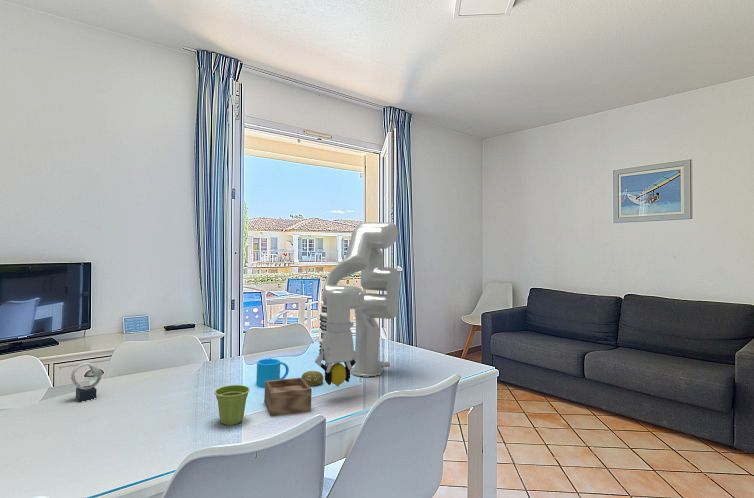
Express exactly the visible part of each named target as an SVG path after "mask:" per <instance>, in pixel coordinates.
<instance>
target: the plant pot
mask: <svg viewBox="0 0 754 498" xmlns="http://www.w3.org/2000/svg"><path fill="white" fill-rule="evenodd" d="M250 390H251V389H250V387H249V386H246V385H244V384H231V385H225V386H221V387H218V388H216V389H215V390H214V392H213V393H214V395H215V397H216V399H217V406H218V415H219V422H220V424H222V425H223V424H224V425H225V426H232V425H236V424H239V423H240V422H243V421H244V416H245V415H244V414H245V409H246V402H247V397H248V395H249V392H250Z"/></svg>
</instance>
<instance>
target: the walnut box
mask: <svg viewBox="0 0 754 498" xmlns="http://www.w3.org/2000/svg"><path fill="white" fill-rule="evenodd" d="M263 395H264V400H263V403H264V405H265V407H266V409H267V411H268V414H269V416H270V417H277V416H284V415H292V414H299V413H307V412H312V388H311V386H309V385H308V384H307V383H306V381H305V380H304V379H303V378H301V377H294V378H284V379H281V380H270V381H265V388H264V394H263Z"/></svg>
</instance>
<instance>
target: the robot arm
mask: <svg viewBox="0 0 754 498" xmlns="http://www.w3.org/2000/svg"><path fill="white" fill-rule="evenodd" d="M398 236H399V230H398V226H397V225H396V224H395V223H393V222H376V221H375V222H374V221H373V222H370V221H369V222H368V221H367V222H360V223H358V224H357V225H356V226H355V228H354V229H353V230H352V233H351V236H350V240H349V241H348V242H349V243H348V245H347V246H348V247H347V250H346V253H345V257H344V259H343V260H342V261H340V262H339V263H337V265H335V266H334V267H333V268H332V269H331V270H330V271H329V273H328V274H327V275H326V278H325V283H324V286H323V289H322V294H321V298H322V304H323V303H324V304H325V305H326V306H327V331H324V334H323V340H322V348H321V354H320V355H318V357H317V358H316V359H315V360H314V363H315V364H317V365H318V366H319V367H320V368H321V369H322V370H324V381H325V383H327V385H329V386H330V385H332V382H331V372H330V369H331V366H332V365H333V364H335V363H344V367H345V370H346V379H345V381H344V382H347V383H349V382H350V379H351V374H352V375H353V376H356V377H360V376H363V377H362V378H370V377H369V376H375V377H377V376H376V375H379V374H381V373H382V374H383V368H388V367H390V365H391V363H390V361H385V362H384V360H382V361H381V360H380V325H379V324H378V322H377V321H376V319H384V320H392V319H394V318H396V316H397V315H398V310H399V300H400V288H401V287H400V286H401V278H400V277H401V276H400V272H399V271H398V269H397V268H395V267H386V266H384V265H383V264H384V254H383V252H382V250H386V249H389V248H390V247H391V246H393V245H394V244H395V243H396V242H397V240H398ZM359 272H360V286H361V288H360V287H358V286H354V285H353V286H352V285H339V282H341V280H343V279H345V278H346V277H348V276H350V275H353V274H356V273H359ZM364 290H367V291H377V292H378V291H380V292H386V294H384V293H371V292H369V293H368V292H365V293H364ZM351 310H354V315H355V317H354V318H355V323H354V322H351V321H350V320H351ZM354 324H355V344H354V339H353V333H352V330H351V328H352V327H354ZM354 345H355V347H354ZM323 361H324V363H325V364H324V363H323ZM382 374H381V375H382ZM379 376H380V375H379Z"/></svg>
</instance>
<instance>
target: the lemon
mask: <svg viewBox="0 0 754 498" xmlns="http://www.w3.org/2000/svg"><path fill="white" fill-rule="evenodd" d="M330 372H331V384H333V385H335V386H336V387H339V386H340V385H343V383H344V382H346V381H345V379H346V370H345V364H342V362H340V363H332V366H331V369H330Z"/></svg>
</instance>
